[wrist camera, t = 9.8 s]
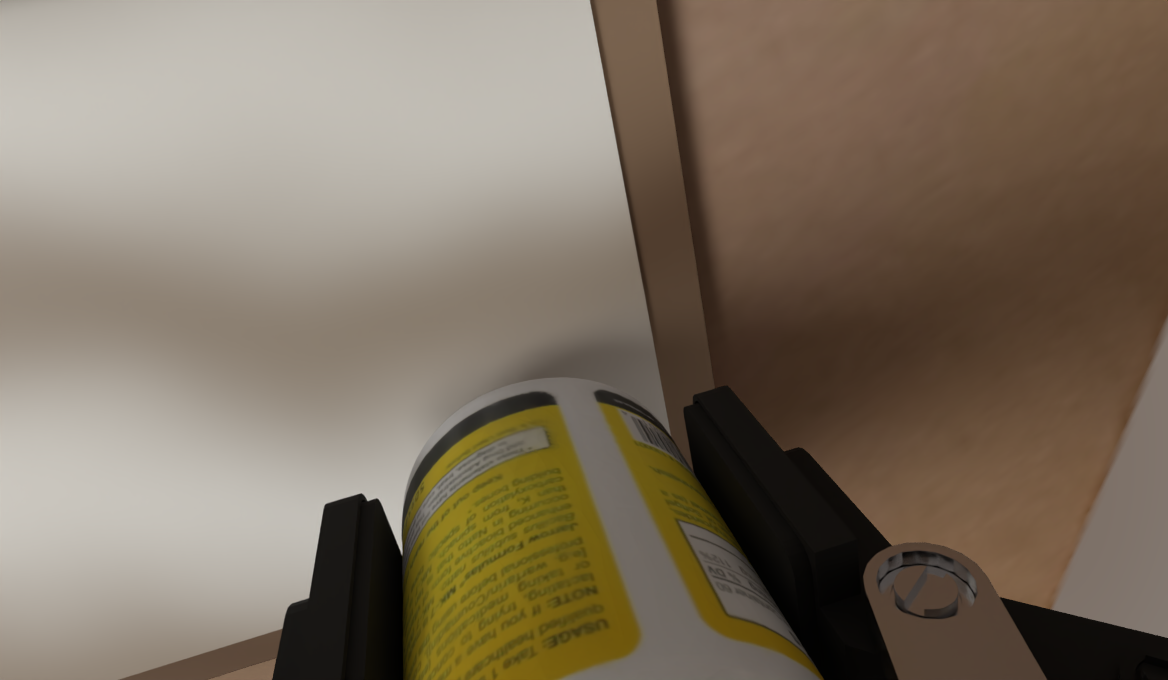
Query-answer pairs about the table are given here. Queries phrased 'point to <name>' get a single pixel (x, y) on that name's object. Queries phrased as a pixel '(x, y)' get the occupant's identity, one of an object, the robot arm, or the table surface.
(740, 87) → the table surface
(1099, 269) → the table surface
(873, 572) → the robot arm
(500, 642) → the supplement bottle
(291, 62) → the clipboard
